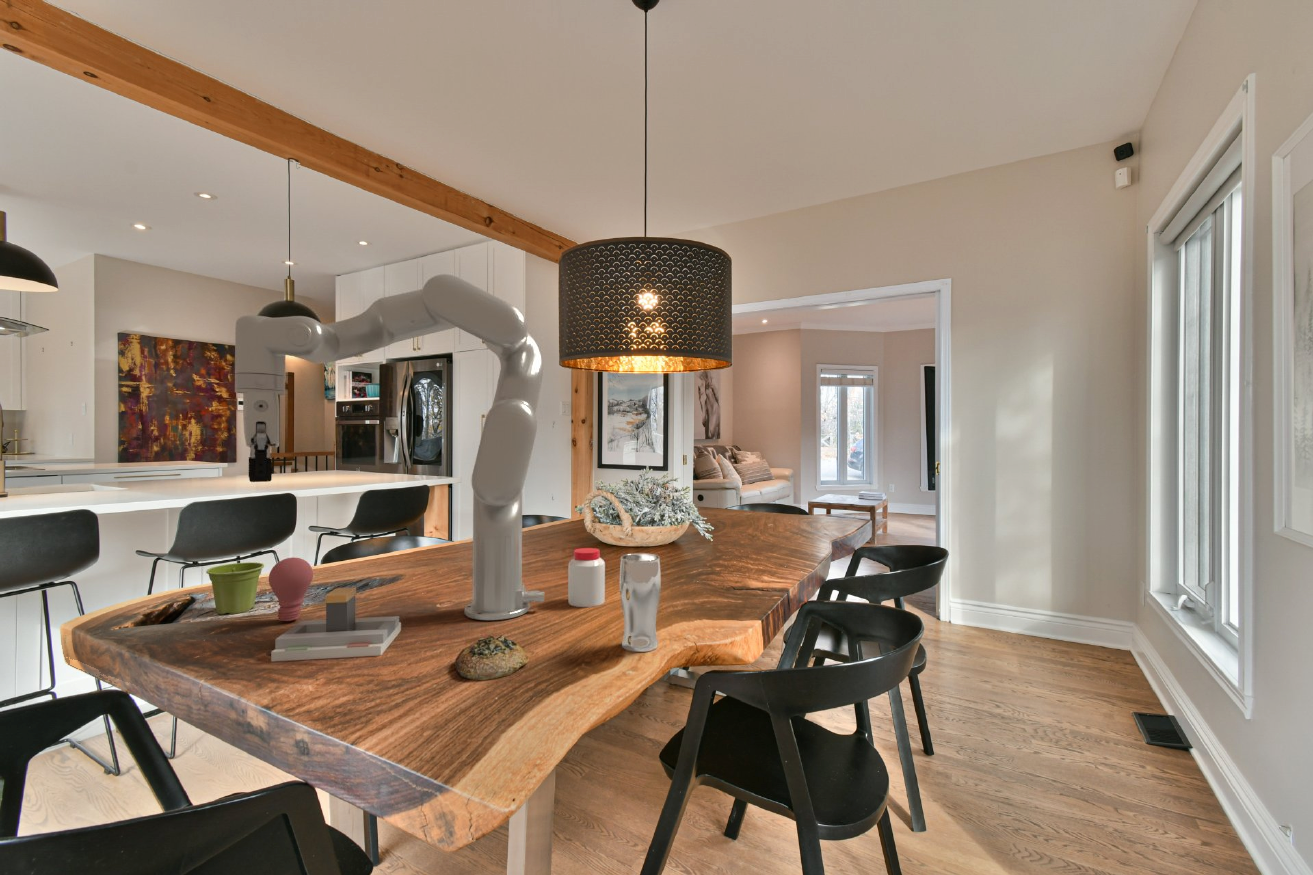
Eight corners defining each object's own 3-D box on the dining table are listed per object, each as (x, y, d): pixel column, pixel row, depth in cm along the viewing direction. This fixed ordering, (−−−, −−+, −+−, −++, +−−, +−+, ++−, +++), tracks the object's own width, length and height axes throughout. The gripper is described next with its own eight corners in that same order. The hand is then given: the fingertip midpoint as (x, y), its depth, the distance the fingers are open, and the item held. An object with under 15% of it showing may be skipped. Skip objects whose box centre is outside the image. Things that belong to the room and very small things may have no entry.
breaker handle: (356, 628, 100) (356, 587, 100) (346, 638, 95) (346, 594, 95) (336, 629, 99) (336, 588, 99) (325, 639, 94) (325, 595, 94)
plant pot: (272, 608, 117) (272, 565, 117) (218, 620, 109) (218, 575, 109) (251, 601, 122) (251, 560, 122) (197, 612, 114) (197, 568, 114)
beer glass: (629, 656, 92) (630, 562, 92) (612, 642, 99) (613, 554, 98) (668, 649, 96) (668, 558, 96) (649, 636, 102) (649, 551, 102)
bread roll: (468, 651, 94) (472, 621, 94) (534, 661, 94) (538, 631, 94) (440, 682, 83) (444, 649, 83) (515, 694, 83) (520, 661, 83)
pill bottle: (589, 609, 117) (589, 555, 117) (560, 603, 121) (560, 551, 121) (612, 600, 124) (612, 549, 124) (584, 595, 128) (584, 545, 128)
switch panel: (401, 630, 104) (401, 613, 104) (380, 655, 92) (380, 636, 92) (304, 635, 102) (304, 618, 102) (271, 661, 90) (271, 642, 90)
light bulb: (321, 615, 113) (321, 554, 113) (295, 627, 105) (295, 562, 105) (287, 614, 113) (287, 553, 113) (259, 626, 106) (259, 561, 106)
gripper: (288, 383, 100) (287, 482, 100) (282, 389, 114) (281, 476, 114) (234, 380, 95) (233, 484, 95) (235, 387, 109) (234, 477, 109)
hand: (259, 479), depth 105 cm, fingers open, 9 cm apart
